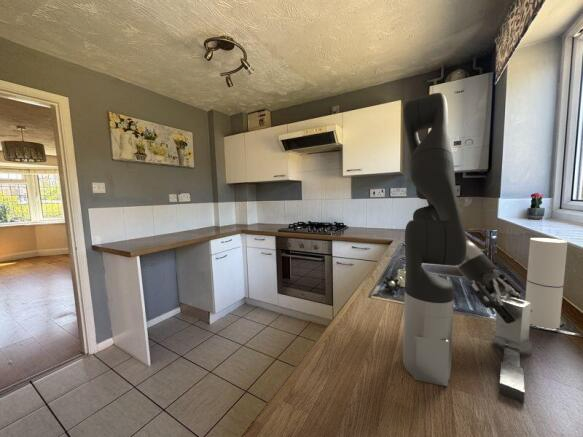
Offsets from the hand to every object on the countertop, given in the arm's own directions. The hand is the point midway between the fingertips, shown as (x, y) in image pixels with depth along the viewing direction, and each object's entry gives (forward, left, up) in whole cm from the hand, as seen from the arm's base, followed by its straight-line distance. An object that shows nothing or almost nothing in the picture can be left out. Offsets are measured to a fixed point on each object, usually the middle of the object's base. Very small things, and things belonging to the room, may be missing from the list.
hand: (520, 317), depth 57 cm
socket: (+1, +1, -6) cm, 6 cm away
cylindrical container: (+16, -13, -9) cm, 22 cm away
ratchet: (-7, +4, -8) cm, 11 cm away
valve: (+34, +23, -9) cm, 43 cm away
